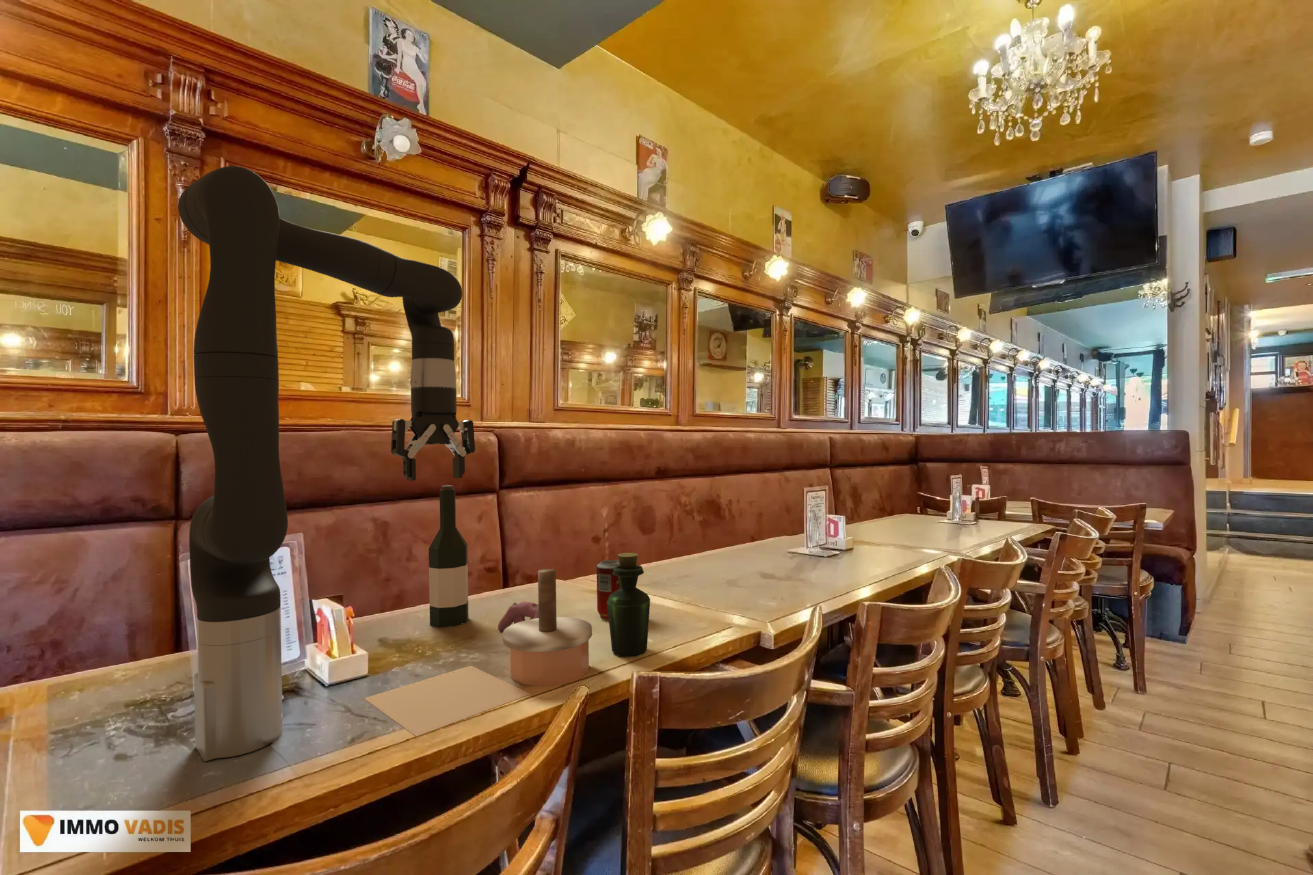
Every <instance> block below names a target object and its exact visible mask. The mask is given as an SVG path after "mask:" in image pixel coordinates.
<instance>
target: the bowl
mask: <svg viewBox="0 0 1313 875" xmlns="http://www.w3.org/2000/svg"><path fill="white" fill-rule="evenodd" d="M589 640H590V639H589ZM589 640H588V641H586V642H585V643H583V644H581V645H578V646H575V647H572V648H568V649H563V650H557V651H547V652H528V651H520V650H515V649H511V648H509V647H508V648H509V675H510V680H512V681H516V682H517V683H520V684H522V685H528V686H540V687H545V686H551V685H561V684H566V683H569V682H571V681H575V680H576V679H580V678H581V677H583V676H584V675H585V674H586V673H587V672H588V670H590V650H589V648H590V646H589V645H590V644H589Z"/></svg>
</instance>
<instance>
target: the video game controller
mask: <svg viewBox="0 0 1313 875" xmlns="http://www.w3.org/2000/svg"><path fill="white" fill-rule="evenodd" d="M526 618H530V619H536V618H539V608H538V603H535V602H529V601H522V602H514V603H512V605H510V606H509V607H508V608H507V610H506V612H505V613H504V614H503V616H502V617H501V619H500V620H499V622H498V625H497V630H498V631H499V632H500V633H501V632H502V633H503V631H504V630H505V629H506V628H507V627H509V626H511V625H513V624H515V623H518V622H522V621H525V620H526ZM530 619H528V620H530Z"/></svg>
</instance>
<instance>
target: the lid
mask: <svg viewBox="0 0 1313 875" xmlns="http://www.w3.org/2000/svg"><path fill="white" fill-rule="evenodd" d="M537 587H538V588H537V592H538V594H537V597H538V598H537V602H538V603H537V604H538V608H539V618H536V619H530V620H529V619H525V621H522V622H518V623H515V624H514V623H512V624H511V625H510V626H509V627H507V628H506V629H505V630H504V631H502V644H504V646H506V647H508V648H511V649H515V650H520V651H528V652H547V651H557V650H563V649H568V648H572V647H575V646H578V645H581V644H583V643H585V642H586V641H588V640H590V639H591V638H592V636H593V626H592V624H591V623H590V622H588V621H587V620H584V619H581V618H576V617H570V616H569V617H568V616H557V571H556V569H554V568H546V569H540V570H538V571H537Z"/></svg>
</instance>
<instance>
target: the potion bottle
mask: <svg viewBox="0 0 1313 875" xmlns="http://www.w3.org/2000/svg"><path fill="white" fill-rule="evenodd" d="M638 557H639V554H638V553H636V552H623V553H618V554H617V560H619V564H620V565H618V566H615V567H614V570H613V575H615V576H618V579H619V582H620V586H621V588H620V589H618V590H617V591H615V592H614V593H612V594H611V595H610V596H609V598H608V600H607V608H608V617H609V620H608V624H609V634H610V635H609V636H610V643H611V644H610V645H611V651H612V653H613V654H614V655H615V656H617V657H621V658H634V657H635V658H636V657H639V656H642V655H644V654H646V652H647V651H648V638H649V624H650V610H651V608H650V606H651V597H650V596H649V594H648V593H647V592H645V591H643V590H641V589H640V588H638V587H637V586H638V585H637V583H638V579H639V576H642V575H644V573H645V571H644V569H643V567H642V565H639V564H638V563H637V562H638Z"/></svg>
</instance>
